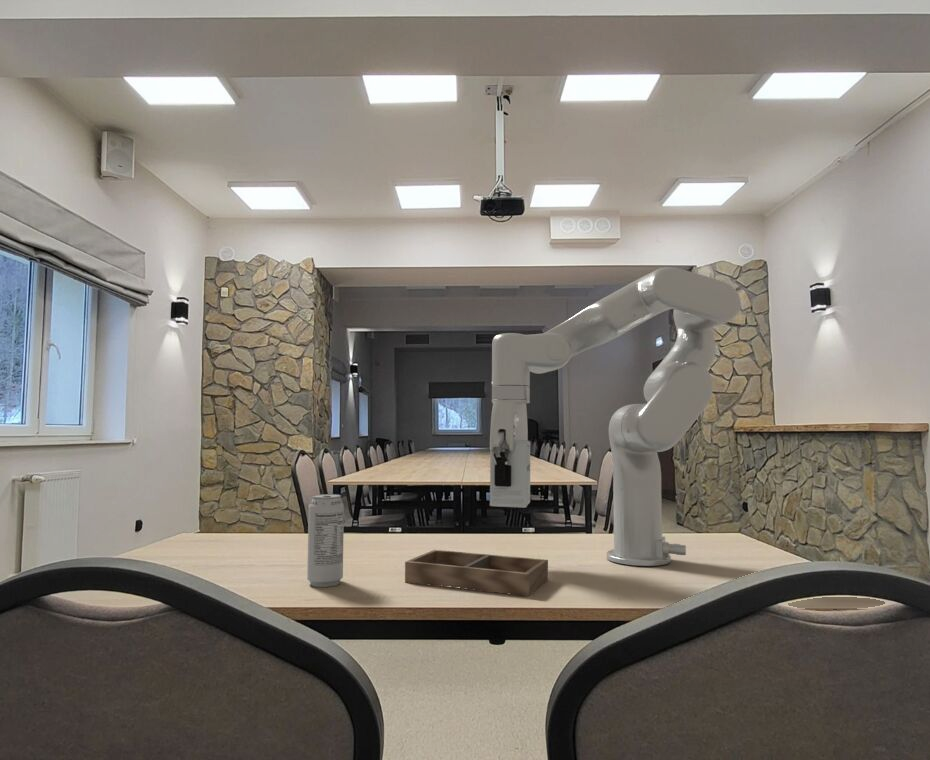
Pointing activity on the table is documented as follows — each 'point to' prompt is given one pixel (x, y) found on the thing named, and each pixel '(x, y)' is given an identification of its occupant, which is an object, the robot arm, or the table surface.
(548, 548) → the table surface
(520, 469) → the supplement box
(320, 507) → the energy drink can
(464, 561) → the frame
